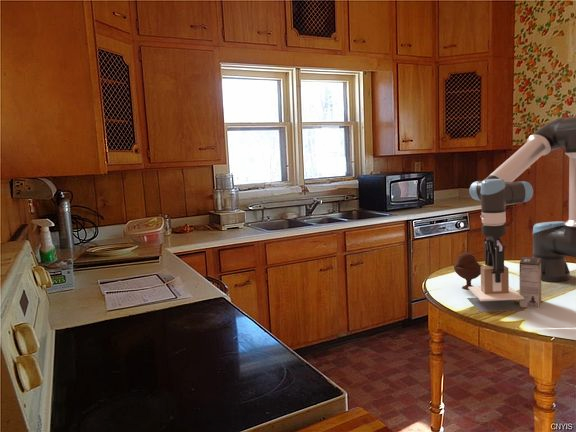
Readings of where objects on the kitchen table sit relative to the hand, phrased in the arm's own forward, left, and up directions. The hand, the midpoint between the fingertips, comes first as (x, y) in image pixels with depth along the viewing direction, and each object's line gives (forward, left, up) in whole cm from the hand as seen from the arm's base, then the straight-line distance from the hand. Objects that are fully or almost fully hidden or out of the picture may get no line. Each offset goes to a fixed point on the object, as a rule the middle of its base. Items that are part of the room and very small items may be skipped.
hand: (494, 288), depth 154 cm
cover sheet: (0, 0, -2) cm, 2 cm away
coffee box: (-12, +1, -6) cm, 13 cm away
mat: (0, 0, -6) cm, 6 cm away
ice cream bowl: (+3, -19, -6) cm, 20 cm away
